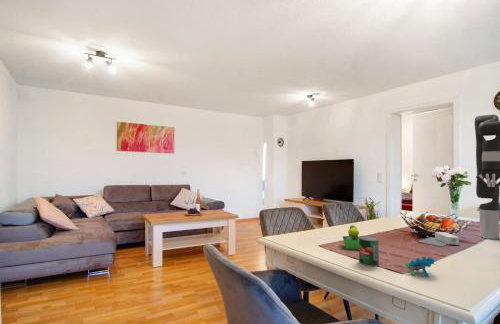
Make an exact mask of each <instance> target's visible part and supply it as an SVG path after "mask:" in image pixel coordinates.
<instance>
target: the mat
mask: <svg viewBox="0 0 500 324" xmlns="http://www.w3.org/2000/svg"><path fill="white" fill-rule="evenodd" d="M417 243H421V244H426V245H431V246H434V247H435V246H436V247H438V248H439V247H440V248H442V247H445V246H448V245H449V244H446V243H444V242H441V241H439V240H437V239H435V237H433V236H430V237H426V238H424V239H420V240H417Z"/></svg>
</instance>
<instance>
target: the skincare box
mask: <svg viewBox="0 0 500 324" xmlns="http://www.w3.org/2000/svg"><path fill="white" fill-rule="evenodd" d="M434 238H435V239H437V240H439V241H441V242H444V243H446V244H448V245H457V246H459V245H460V237H459V236H458V235H457V236H456V235H454V234H451V233H448V232H443V231H441V232H440V231H434Z"/></svg>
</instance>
